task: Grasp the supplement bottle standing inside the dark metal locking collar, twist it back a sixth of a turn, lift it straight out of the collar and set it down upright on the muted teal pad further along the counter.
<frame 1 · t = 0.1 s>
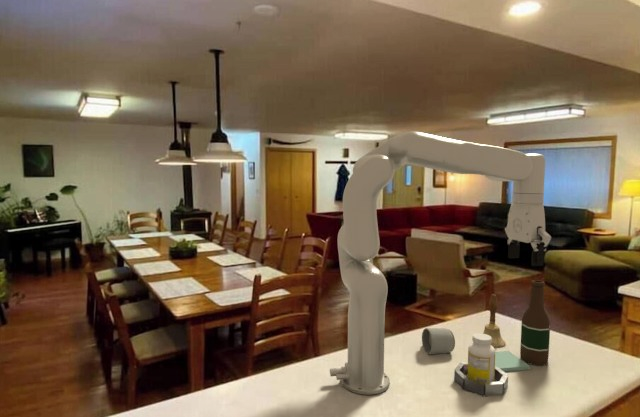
hand: (525, 261, 113), 31 cm above the kitchen counter, tool pointing down, fingers open, 9 cm apart
beer bottle: (534, 360, 122), on the kitchen counter
ceramic mug: (435, 351, 129), on the kitchen counter
pad: (503, 362, 121), on the kitchen counter
supplement bottle: (480, 384, 109), resting in collar
hand bell: (491, 342, 135), on the kitchen counter
collar: (480, 383, 109), on the kitchen counter
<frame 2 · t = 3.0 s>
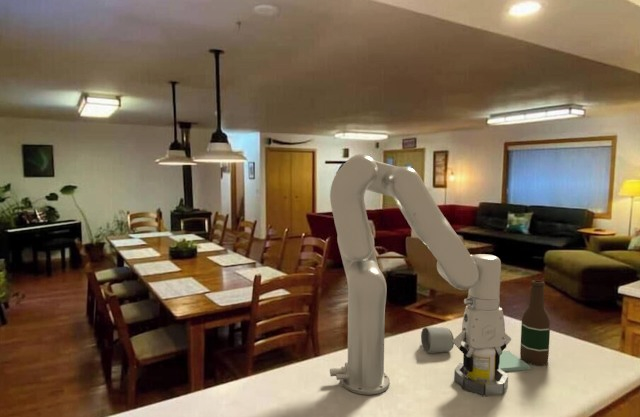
hand: (481, 367, 108), 4 cm above the kitchen counter, tool pointing down, fingers closed on supplement bottle, 6 cm apart
supplement bottle: (480, 384, 109), resting in collar, touching gripper
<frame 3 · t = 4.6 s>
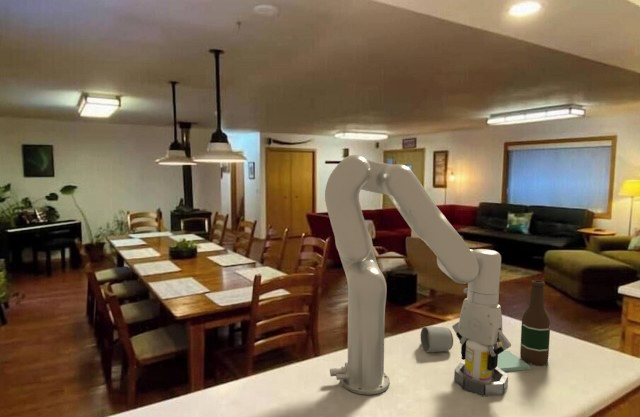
hand: (478, 363, 108), 6 cm above the kitchen counter, tool pointing down, fingers closed on supplement bottle, 6 cm apart
supplement bottle: (477, 379, 109), point 1 cm above the kitchen counter, touching gripper
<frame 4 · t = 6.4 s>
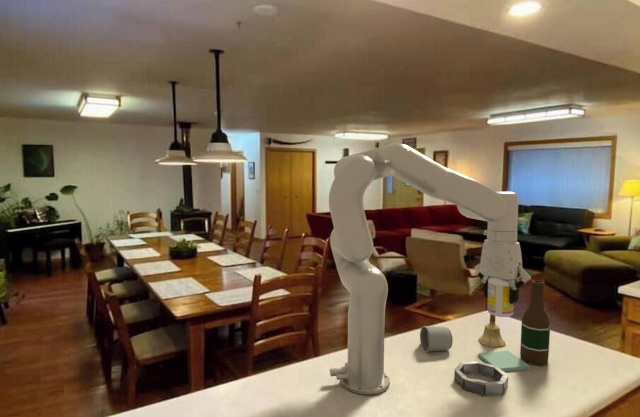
hand: (500, 299, 115), 20 cm above the kitchen counter, tool pointing down, fingers closed on supplement bottle, 6 cm apart
supplement bottle: (500, 314, 115), point 16 cm above the kitchen counter, touching gripper
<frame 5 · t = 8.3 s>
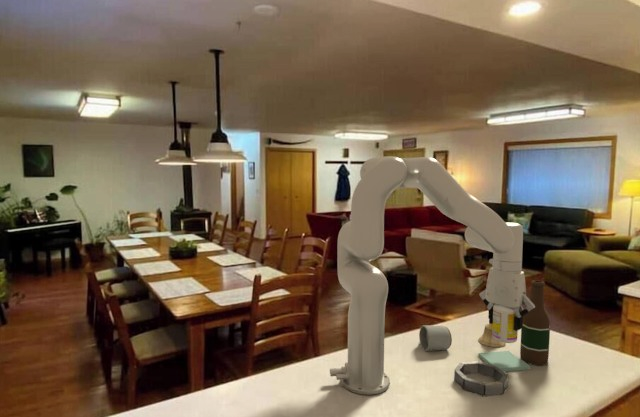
hand: (504, 325, 120), 11 cm above the kitchen counter, tool pointing down, fingers closed on supplement bottle, 6 cm apart
supplement bottle: (504, 340, 120), point 7 cm above the kitchen counter, touching gripper
when the fingers open (7 cm above the kitchen counter, at t = 9.7 s): supplement bottle drops 1 cm, resting on pad.
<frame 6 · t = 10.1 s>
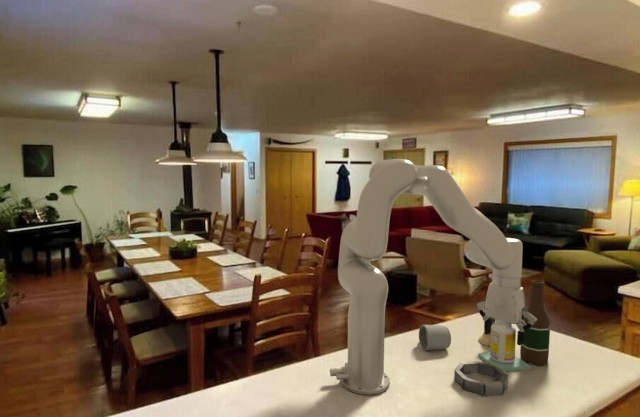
hand: (504, 338, 120), 7 cm above the kitchen counter, tool pointing down, fingers open, 9 cm apart
supplement bottle: (502, 359, 121), point 1 cm above the kitchen counter, touching pad
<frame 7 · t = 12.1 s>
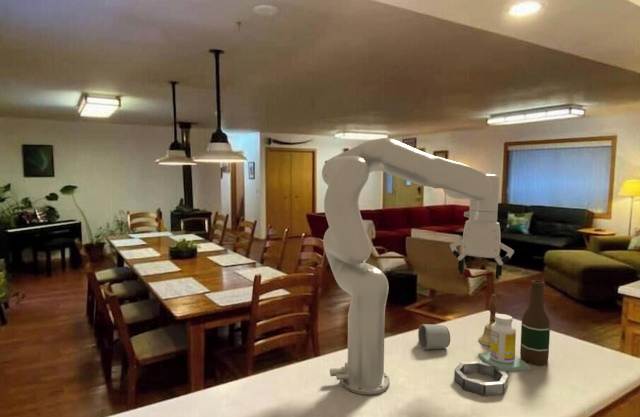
hand: (479, 275, 119), 26 cm above the kitchen counter, tool pointing down, fingers open, 9 cm apart
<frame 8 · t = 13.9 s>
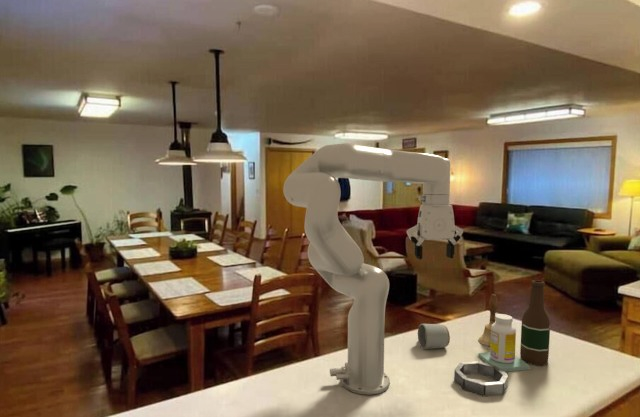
hand: (434, 257, 122), 30 cm above the kitchen counter, tool pointing down, fingers open, 9 cm apart
at the end: supplement bottle inside the target area on the pad (0.3 cm from its centre), point 0.8 cm above the pad's base; supplement bottle tilted 0°; the gripper is holding nothing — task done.
